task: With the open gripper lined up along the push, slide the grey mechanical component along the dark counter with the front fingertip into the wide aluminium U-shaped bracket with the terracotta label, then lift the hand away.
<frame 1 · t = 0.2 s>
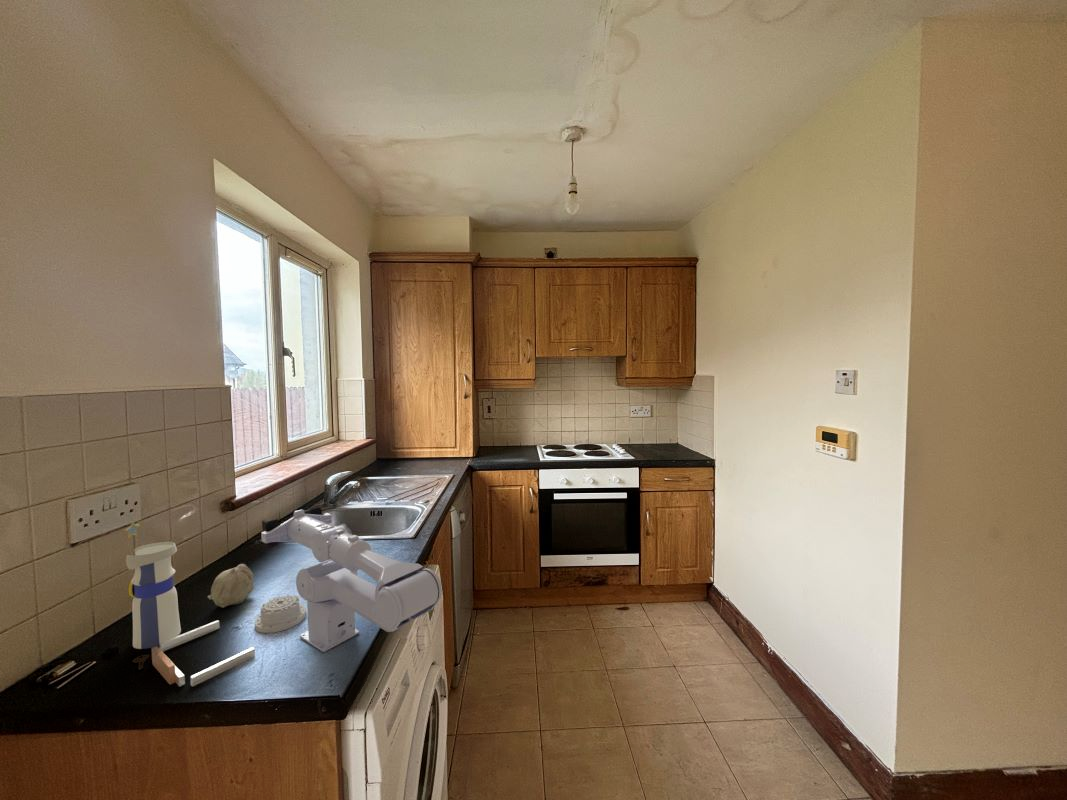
hand: (281, 519, 101), 21 cm above the worktop, tool horizontal, fingers open, 7 cm apart
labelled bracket: (206, 653, 85), on the worktop
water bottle: (156, 639, 91), on the worktop
garlic bulb: (232, 604, 104), on the worktop
mechanical component: (281, 622, 97), on the worktop
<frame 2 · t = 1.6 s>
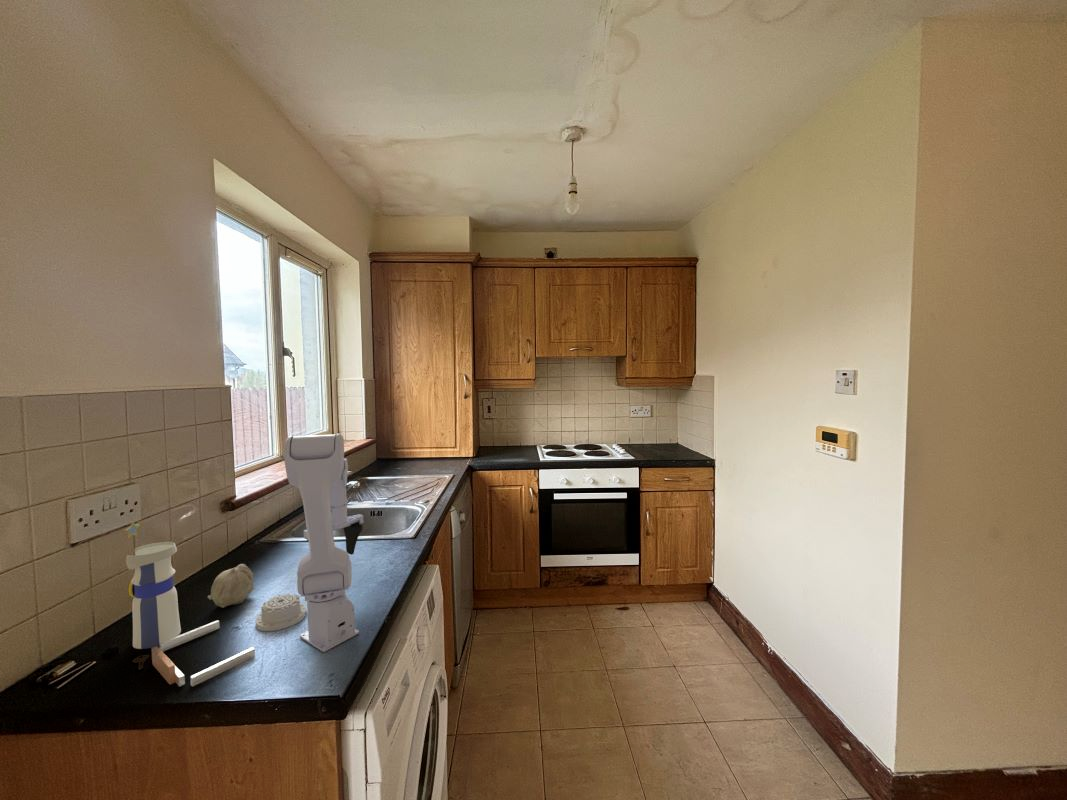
hand: (336, 558, 107), 9 cm above the worktop, tool pointing down, fingers open, 7 cm apart
nothing on the worktop moved.
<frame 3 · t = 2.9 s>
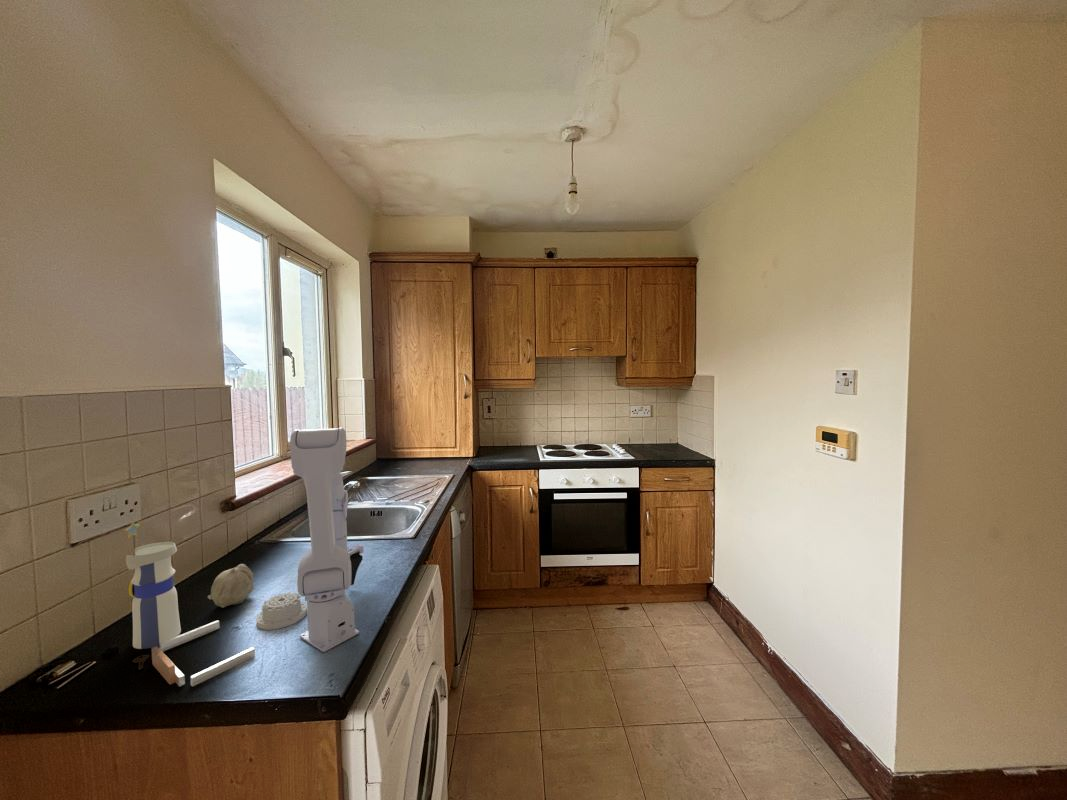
hand: (336, 590, 107), 1 cm above the worktop, tool pointing down, fingers open, 7 cm apart
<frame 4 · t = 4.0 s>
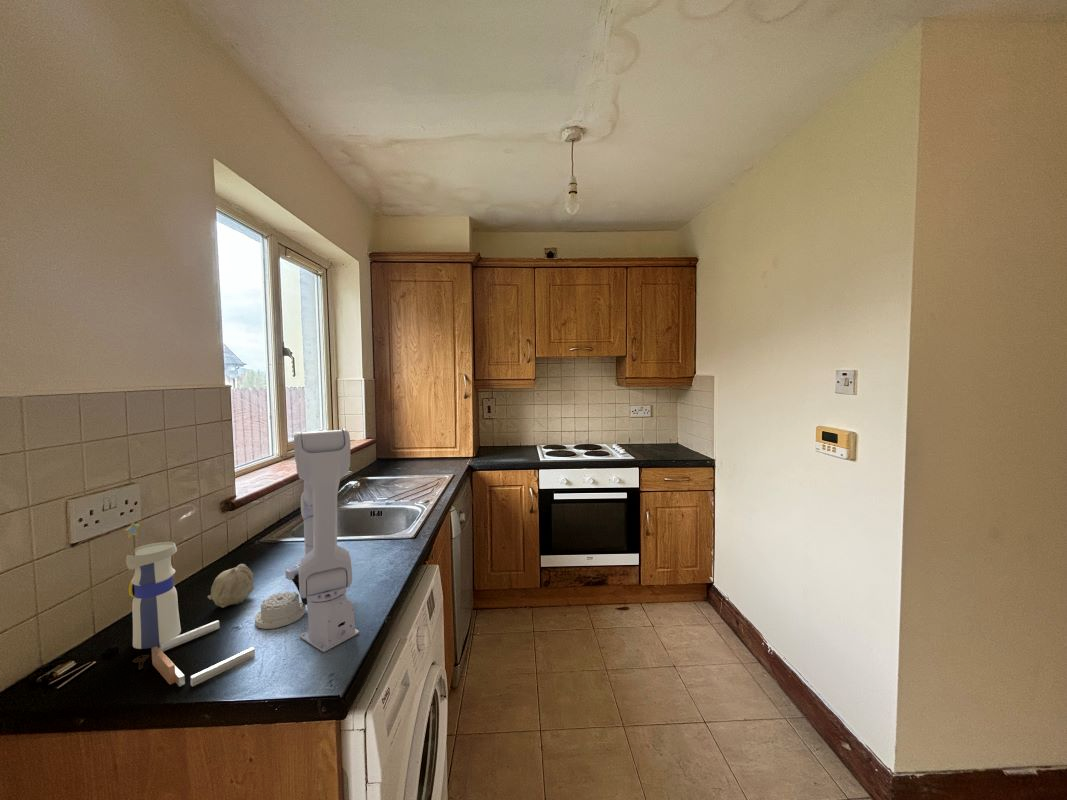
hand: (320, 596, 104), 2 cm above the worktop, tool pointing down, fingers open, 6 cm apart
mechanical component: (281, 618, 98), on the worktop, touching gripper
everything else where it was.
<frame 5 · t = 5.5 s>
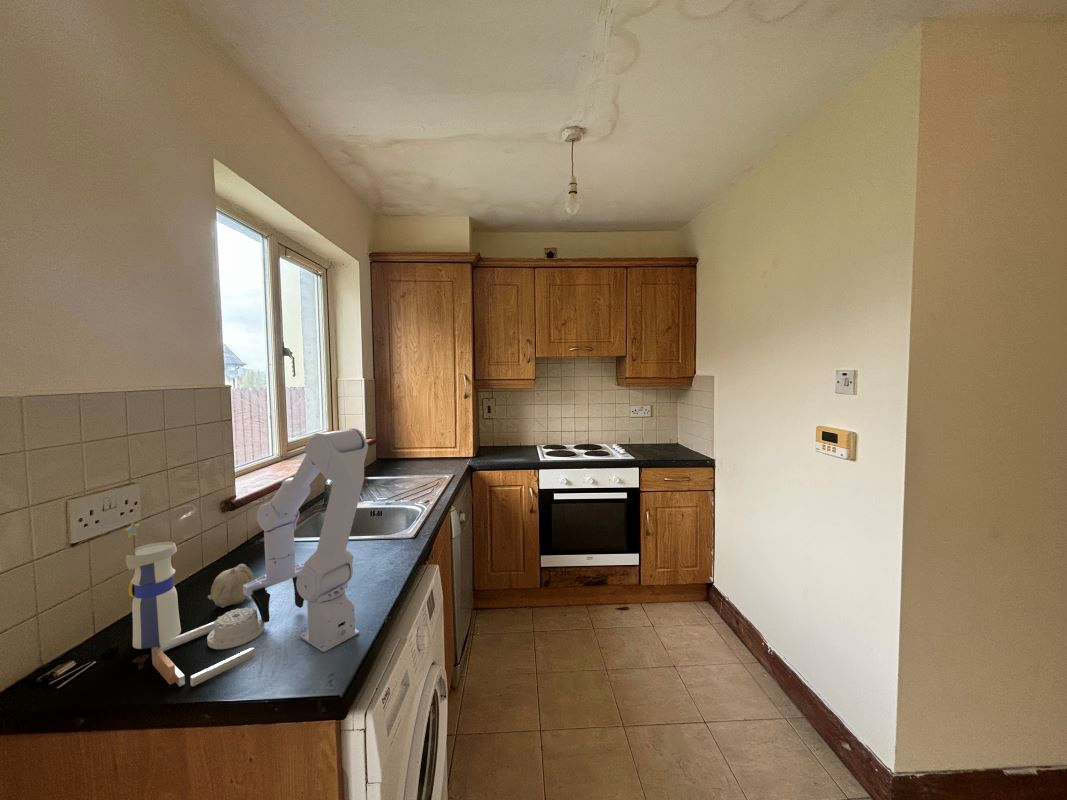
hand: (282, 613, 97), 2 cm above the worktop, tool pointing down, fingers open, 7 cm apart
mechanical component: (237, 636, 91), on the worktop, touching gripper
everything else where it was.
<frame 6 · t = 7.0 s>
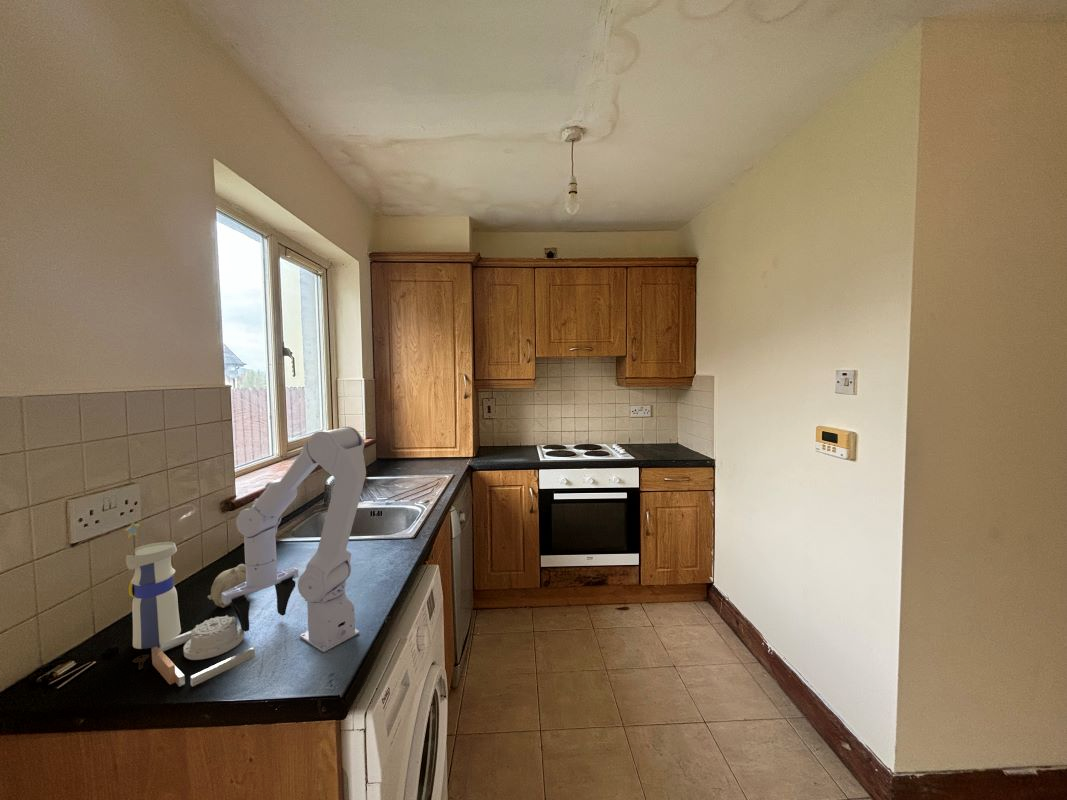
hand: (263, 621, 94), 1 cm above the worktop, tool pointing down, fingers open, 7 cm apart
mechanical component: (215, 646, 88), on the worktop, touching gripper
everything else where it was.
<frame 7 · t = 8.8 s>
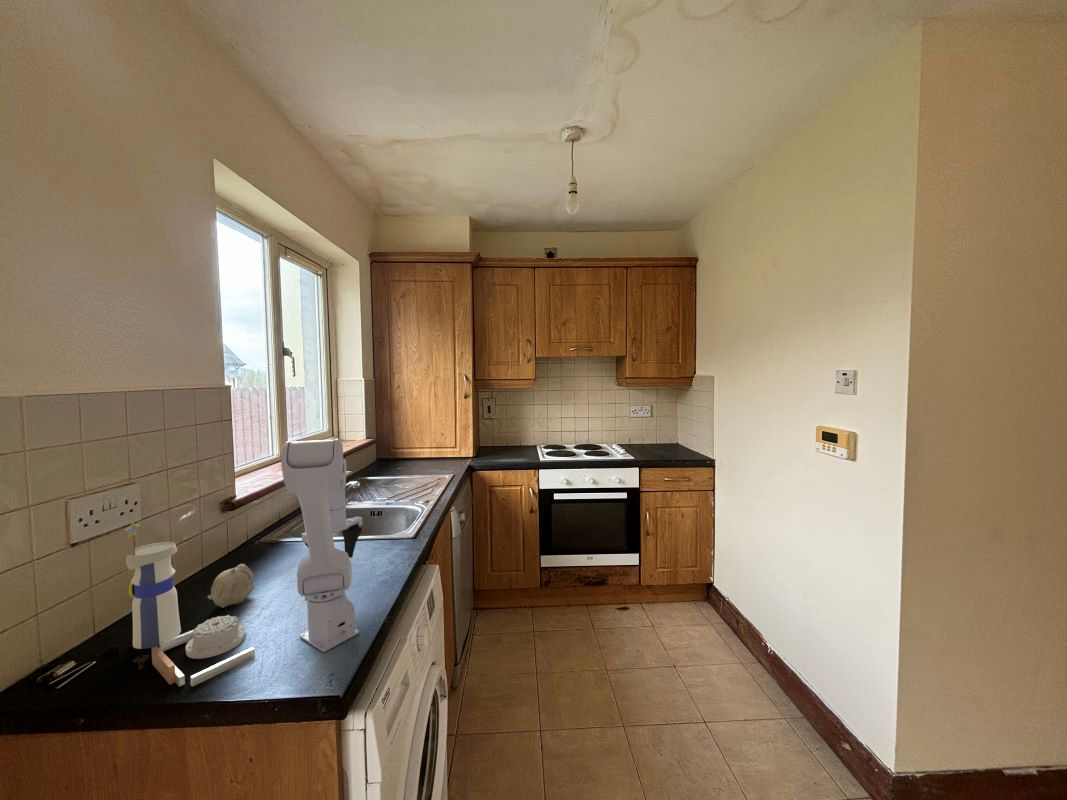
hand: (334, 562, 105), 9 cm above the worktop, tool pointing down, fingers open, 7 cm apart
mechanical component: (216, 645, 88), on the worktop
everything else where it was.
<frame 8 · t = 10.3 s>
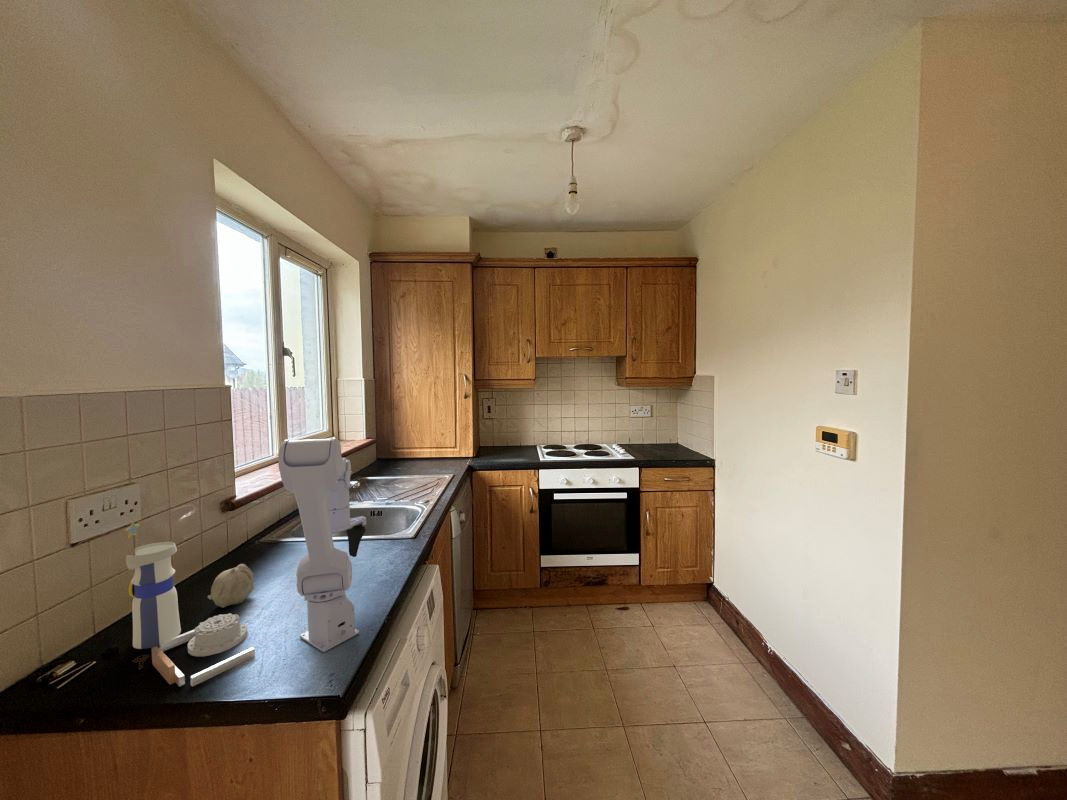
hand: (338, 561, 106), 9 cm above the worktop, tool pointing down, fingers open, 7 cm apart
nothing on the worktop moved.
at the end: mechanical component 3.2 cm from the target spot on the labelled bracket, point -0.5 cm above the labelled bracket's base; mechanical component moved 11.4 cm from its start; the gripper is holding nothing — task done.
